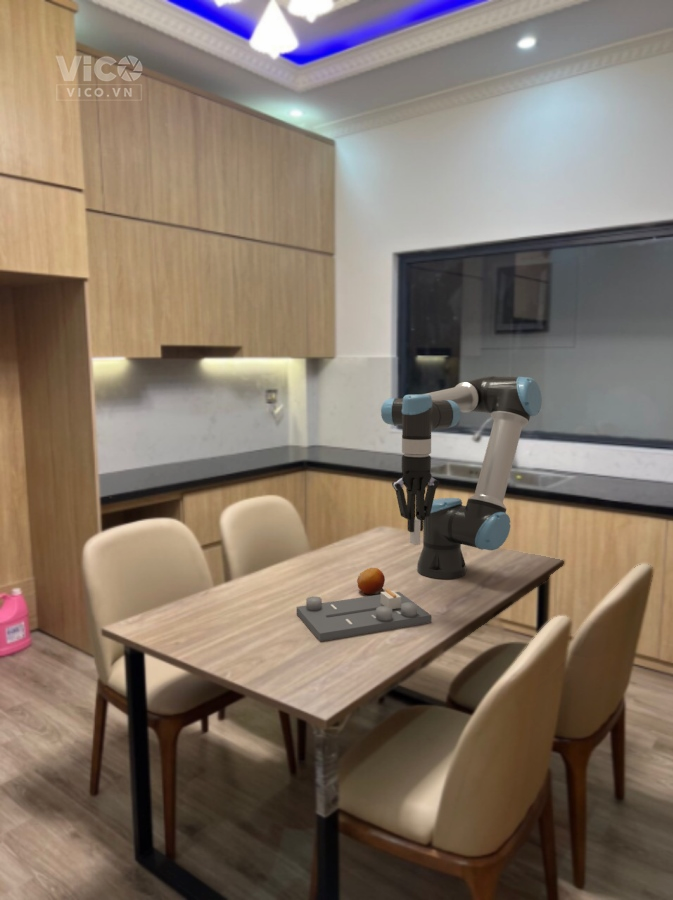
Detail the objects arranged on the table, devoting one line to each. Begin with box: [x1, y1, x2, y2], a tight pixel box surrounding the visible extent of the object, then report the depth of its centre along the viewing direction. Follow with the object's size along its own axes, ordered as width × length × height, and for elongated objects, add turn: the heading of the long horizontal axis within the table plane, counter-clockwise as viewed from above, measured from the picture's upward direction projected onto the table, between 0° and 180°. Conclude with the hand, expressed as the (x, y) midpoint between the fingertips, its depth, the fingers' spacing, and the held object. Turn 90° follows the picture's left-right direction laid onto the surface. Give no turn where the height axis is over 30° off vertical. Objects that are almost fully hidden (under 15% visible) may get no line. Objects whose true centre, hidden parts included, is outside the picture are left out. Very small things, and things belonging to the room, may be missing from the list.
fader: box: [380, 588, 401, 609], centre depth 169 cm, size 4×5×4 cm
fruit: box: [356, 567, 386, 596], centre depth 186 cm, size 8×8×8 cm
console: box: [296, 591, 432, 642], centre depth 167 cm, size 30×18×4 cm, turn 111°
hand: (415, 543), depth 170 cm, fingers closed
